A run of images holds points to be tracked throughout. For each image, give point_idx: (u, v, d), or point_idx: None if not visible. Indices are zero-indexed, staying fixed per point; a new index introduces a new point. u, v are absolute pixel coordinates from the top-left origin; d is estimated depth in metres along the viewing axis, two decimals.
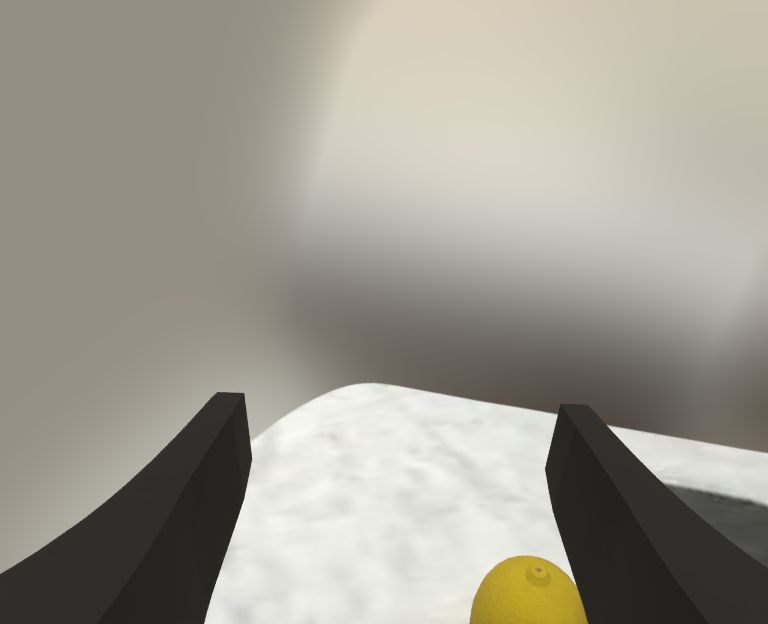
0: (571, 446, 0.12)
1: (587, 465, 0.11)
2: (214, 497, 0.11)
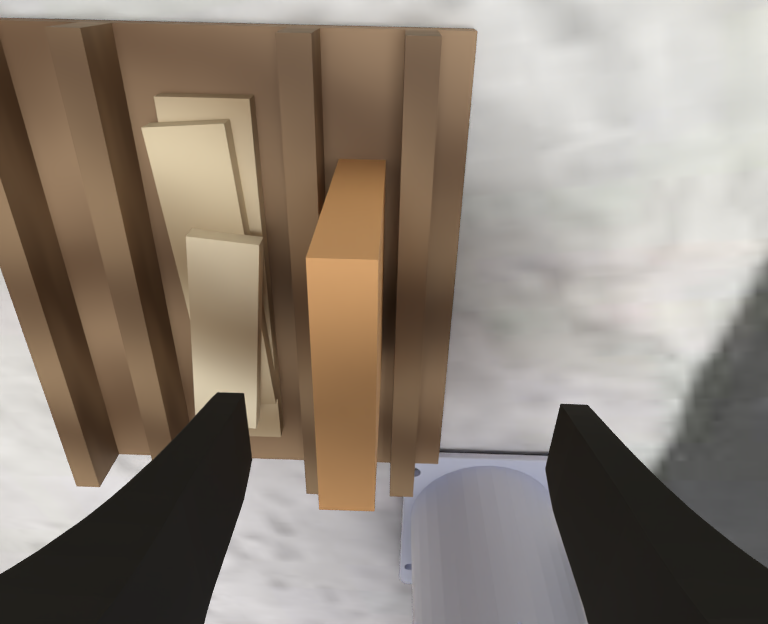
0: (571, 446, 0.12)
1: (587, 465, 0.11)
2: (214, 497, 0.11)
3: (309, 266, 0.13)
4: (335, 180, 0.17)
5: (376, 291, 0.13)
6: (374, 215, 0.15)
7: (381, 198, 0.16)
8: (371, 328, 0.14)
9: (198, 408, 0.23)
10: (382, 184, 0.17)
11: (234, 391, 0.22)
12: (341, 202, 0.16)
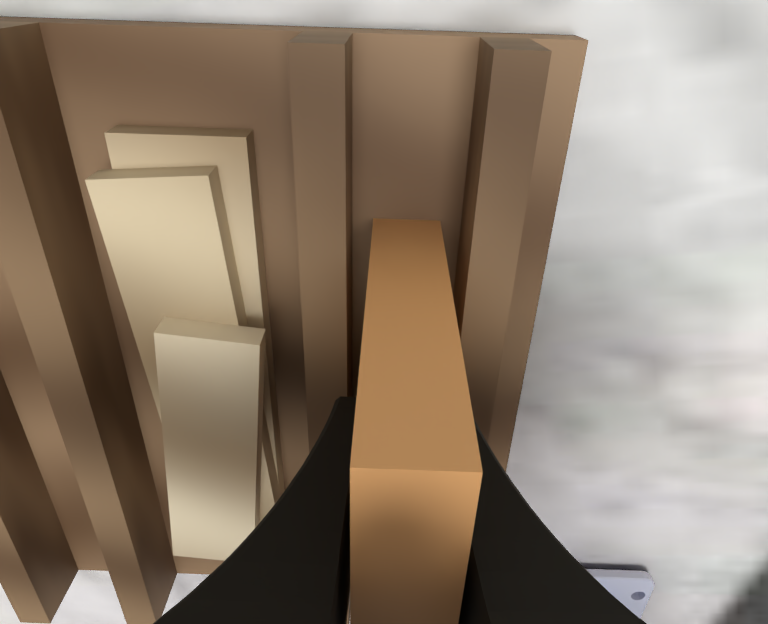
0: None
1: None
2: None
3: (355, 479, 0.07)
4: (374, 263, 0.12)
5: (472, 515, 0.07)
6: (449, 343, 0.09)
7: (451, 303, 0.10)
8: (456, 565, 0.08)
9: (176, 540, 0.17)
10: (446, 271, 0.12)
11: (224, 521, 0.16)
12: (391, 312, 0.10)
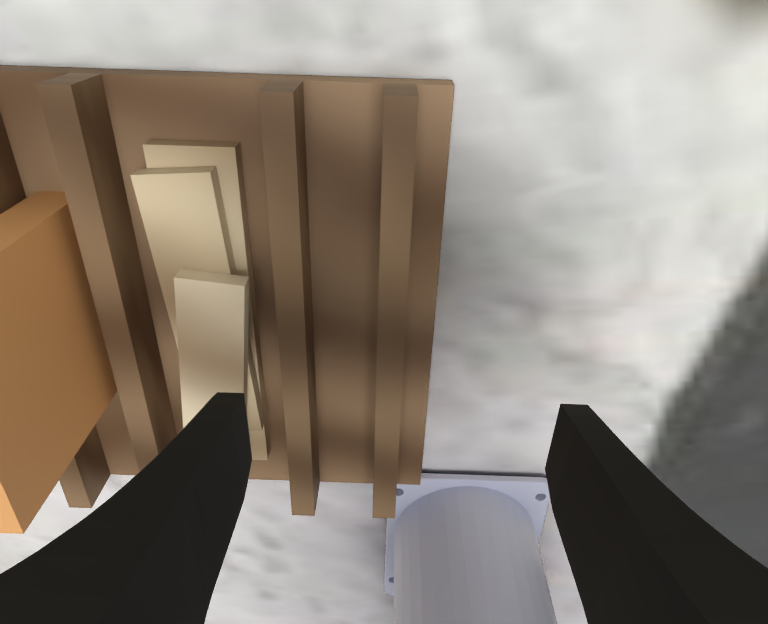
0: (571, 446, 0.12)
1: (587, 465, 0.11)
2: (214, 497, 0.11)
3: None
4: (0, 216, 0.18)
5: None
6: None
7: (19, 237, 0.17)
8: None
9: None
10: (42, 221, 0.18)
11: None
12: None
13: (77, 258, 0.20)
